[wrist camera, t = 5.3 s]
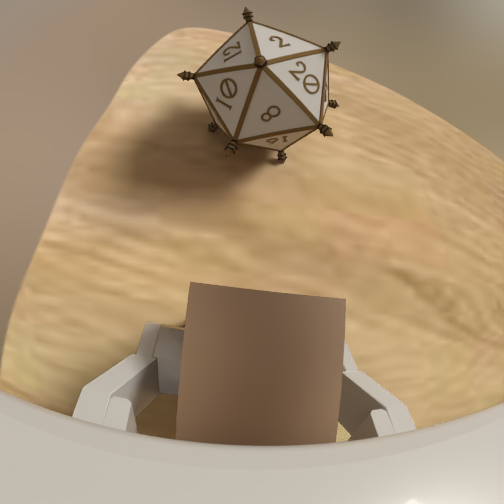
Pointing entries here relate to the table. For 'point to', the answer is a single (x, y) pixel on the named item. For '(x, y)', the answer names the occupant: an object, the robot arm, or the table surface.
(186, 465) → the robot arm
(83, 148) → the table surface
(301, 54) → the game die
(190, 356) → the walnut block
